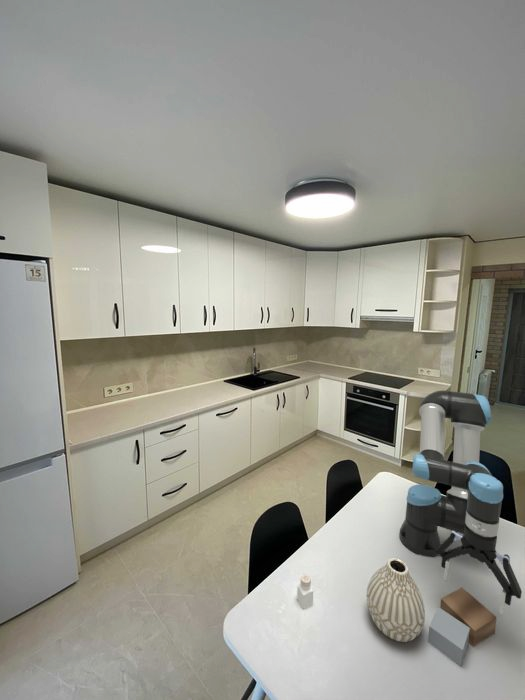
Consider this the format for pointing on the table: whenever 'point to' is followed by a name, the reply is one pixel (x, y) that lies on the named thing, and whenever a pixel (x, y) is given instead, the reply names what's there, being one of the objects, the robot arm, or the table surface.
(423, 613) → the vase
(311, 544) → the table surface
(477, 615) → the walnut block
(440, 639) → the slate block
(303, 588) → the pepper shaker
